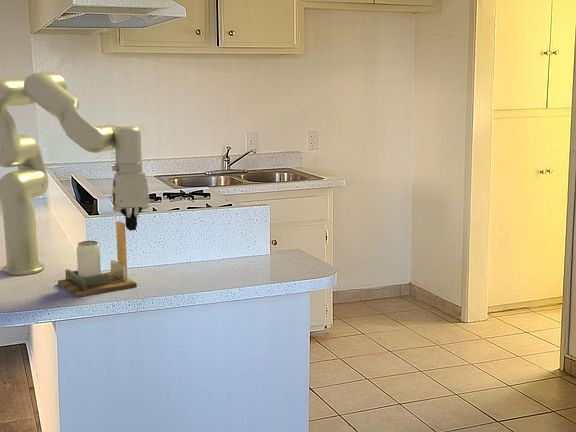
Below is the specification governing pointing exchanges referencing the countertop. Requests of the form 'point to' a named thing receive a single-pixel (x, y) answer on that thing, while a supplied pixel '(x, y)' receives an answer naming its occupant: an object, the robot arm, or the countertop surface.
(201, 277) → the countertop surface
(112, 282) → the rail board
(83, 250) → the can
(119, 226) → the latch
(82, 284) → the can holder
